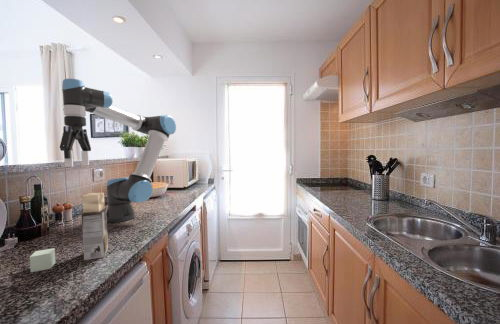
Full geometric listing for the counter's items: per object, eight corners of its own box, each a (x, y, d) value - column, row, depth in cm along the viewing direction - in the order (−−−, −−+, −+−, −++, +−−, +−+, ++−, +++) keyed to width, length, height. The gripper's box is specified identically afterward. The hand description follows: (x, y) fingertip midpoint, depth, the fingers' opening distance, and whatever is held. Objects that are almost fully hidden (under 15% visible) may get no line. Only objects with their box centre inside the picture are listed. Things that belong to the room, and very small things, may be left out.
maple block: (89, 209, 88) (89, 193, 88) (104, 208, 89) (103, 192, 89) (83, 212, 83) (82, 195, 83) (99, 211, 84) (98, 194, 84)
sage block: (36, 265, 79) (35, 251, 79) (55, 262, 81) (54, 248, 81) (30, 272, 74) (29, 256, 74) (50, 268, 77) (49, 253, 76)
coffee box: (89, 251, 90) (86, 208, 89) (108, 247, 92) (106, 206, 92) (83, 260, 82) (80, 214, 81) (105, 257, 84) (102, 212, 83)
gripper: (80, 120, 113) (82, 164, 114) (46, 111, 89) (49, 168, 90) (97, 120, 115) (99, 164, 116) (68, 111, 90) (71, 167, 91)
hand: (77, 166), depth 103 cm, fingers open, 13 cm apart
